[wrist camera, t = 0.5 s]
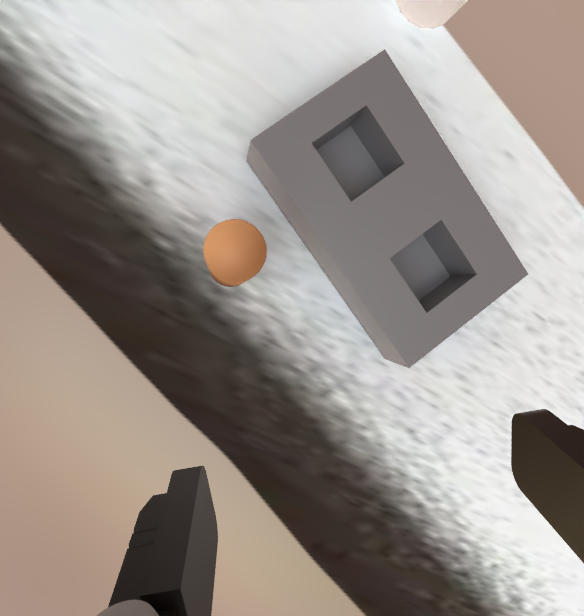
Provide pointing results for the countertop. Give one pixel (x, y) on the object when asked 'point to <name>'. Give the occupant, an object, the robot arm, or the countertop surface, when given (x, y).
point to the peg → (234, 252)
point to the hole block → (386, 211)
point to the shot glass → (429, 11)
